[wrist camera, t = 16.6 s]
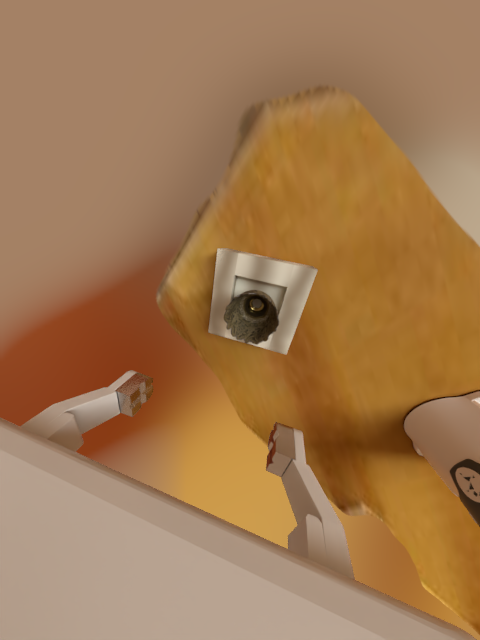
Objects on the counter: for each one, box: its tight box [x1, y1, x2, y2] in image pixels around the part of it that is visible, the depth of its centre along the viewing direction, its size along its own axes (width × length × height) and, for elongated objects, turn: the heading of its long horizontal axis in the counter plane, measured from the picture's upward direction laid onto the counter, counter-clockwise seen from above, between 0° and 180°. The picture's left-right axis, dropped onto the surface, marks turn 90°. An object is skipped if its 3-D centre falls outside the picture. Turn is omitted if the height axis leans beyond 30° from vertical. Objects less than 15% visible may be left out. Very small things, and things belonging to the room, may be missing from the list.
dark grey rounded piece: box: [224, 290, 279, 345], centre depth 26 cm, size 8×7×8 cm
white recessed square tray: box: [208, 248, 318, 354], centre depth 30 cm, size 15×15×5 cm
